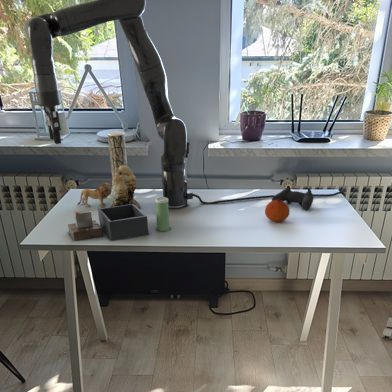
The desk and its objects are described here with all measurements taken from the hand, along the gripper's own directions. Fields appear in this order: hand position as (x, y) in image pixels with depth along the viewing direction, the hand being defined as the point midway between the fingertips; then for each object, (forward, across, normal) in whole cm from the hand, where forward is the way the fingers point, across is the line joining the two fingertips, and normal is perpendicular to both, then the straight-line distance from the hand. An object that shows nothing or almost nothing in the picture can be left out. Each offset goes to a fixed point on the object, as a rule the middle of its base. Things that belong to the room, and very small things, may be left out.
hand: (55, 141), depth 175 cm
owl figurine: (+29, +5, -24) cm, 38 cm away
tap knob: (+26, -16, -3) cm, 30 cm away
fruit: (+30, -33, -72) cm, 84 cm away
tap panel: (+29, -16, -3) cm, 33 cm away
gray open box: (+29, -18, -16) cm, 38 cm away
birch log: (+29, +26, -28) cm, 48 cm away
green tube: (+29, -23, -30) cm, 47 cm away
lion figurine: (+29, +15, -14) cm, 36 cm away
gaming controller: (+30, -20, -88) cm, 95 cm away
